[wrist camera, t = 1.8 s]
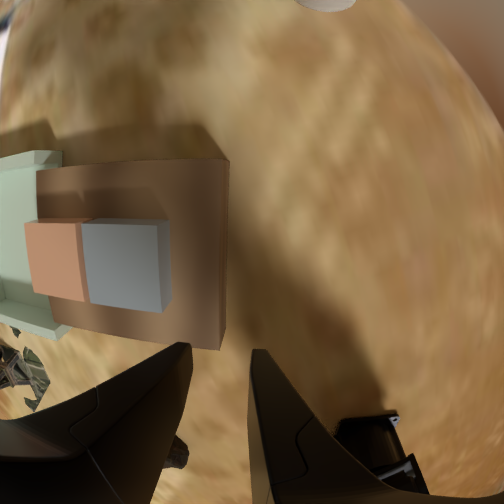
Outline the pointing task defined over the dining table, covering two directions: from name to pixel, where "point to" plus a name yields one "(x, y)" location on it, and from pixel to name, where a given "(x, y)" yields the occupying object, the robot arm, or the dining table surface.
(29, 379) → the eiffel tower figurine
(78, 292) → the tile terracotta
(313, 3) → the dixie cup
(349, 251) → the dining table surface
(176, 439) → the hand tool
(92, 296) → the tile slate
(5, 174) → the tray
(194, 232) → the plate
